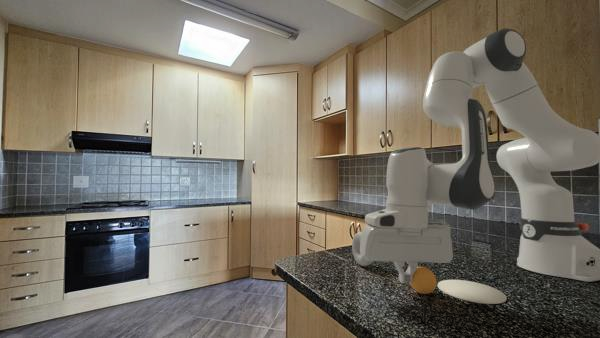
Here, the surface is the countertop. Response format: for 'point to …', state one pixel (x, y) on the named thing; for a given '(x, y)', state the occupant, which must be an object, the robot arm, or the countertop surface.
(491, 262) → the countertop surface
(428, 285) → the ball
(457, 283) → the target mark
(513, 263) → the countertop surface
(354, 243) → the donut
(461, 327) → the countertop surface
